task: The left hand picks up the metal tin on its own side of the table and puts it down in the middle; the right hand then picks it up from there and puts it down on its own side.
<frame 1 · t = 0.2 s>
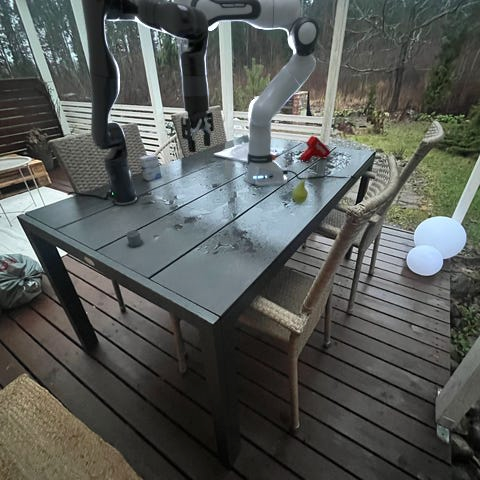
left hand: (200, 148, 90), 29 cm above the table, tool pointing down, fingers open, 8 cm apart
right hand: (190, 78, 120), 47 cm above the table, tool pointing down, fingers open, 8 cm apart
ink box: (152, 178, 149), on the table
tin: (135, 243, 94), on the table
relief map: (246, 155, 185), on the table
toy gun: (314, 160, 175), on the table
fruit: (299, 202, 122), on the table
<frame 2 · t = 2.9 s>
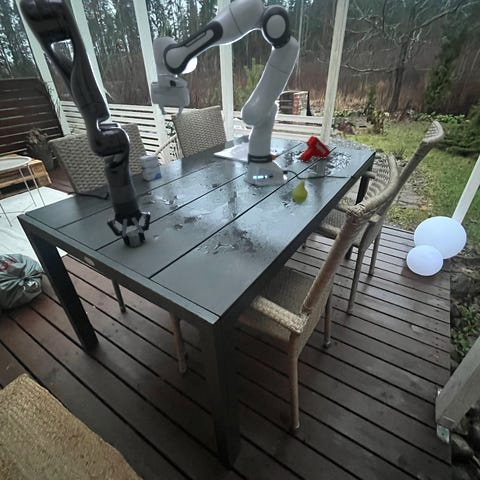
left hand: (135, 242, 94), 0 cm above the table, tool pointing down, fingers closed on tin, 4 cm apart
right hand: (171, 115, 128), 32 cm above the table, tool pointing down, fingers open, 8 cm apart
tin: (135, 243, 94), on the table, touching left hand
everything else where it was.
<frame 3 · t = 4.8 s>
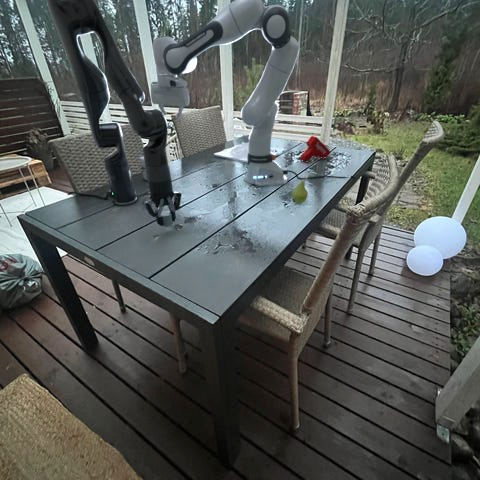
left hand: (167, 222, 98), 4 cm above the table, tool pointing down, fingers closed on tin, 4 cm apart
right hand: (171, 115, 128), 32 cm above the table, tool pointing down, fingers open, 8 cm apart
tin: (167, 224, 98), point 4 cm above the table, touching left hand
everything else where it was.
when the left hand's fingers open (1 cm above the table, at t = 6.8 s): tin stays where it is, on the table.
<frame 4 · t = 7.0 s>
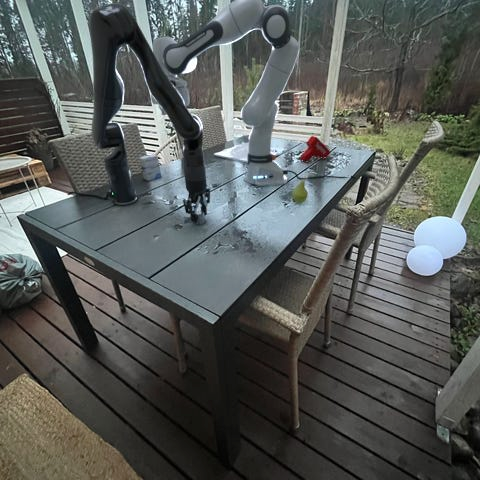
left hand: (199, 218, 106), 2 cm above the table, tool pointing down, fingers open, 6 cm apart
right hand: (171, 115, 128), 32 cm above the table, tool pointing down, fingers open, 8 cm apart
tin: (199, 222, 107), on the table
everything else where it was.
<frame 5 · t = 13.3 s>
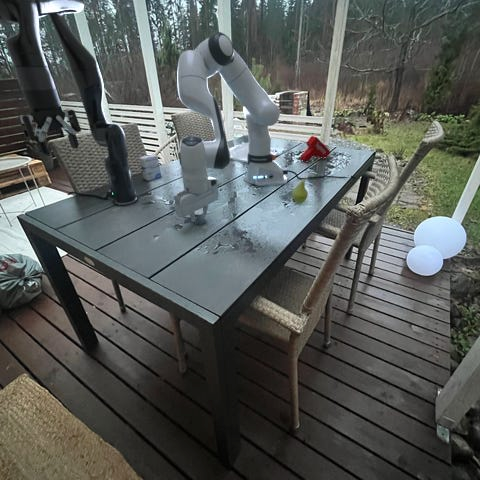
left hand: (61, 151, 78), 31 cm above the table, tool pointing down, fingers open, 8 cm apart
right hand: (199, 218, 106), 2 cm above the table, tool pointing down, fingers closed on tin, 4 cm apart
tin: (199, 222, 107), on the table, touching right hand
everything else where it was.
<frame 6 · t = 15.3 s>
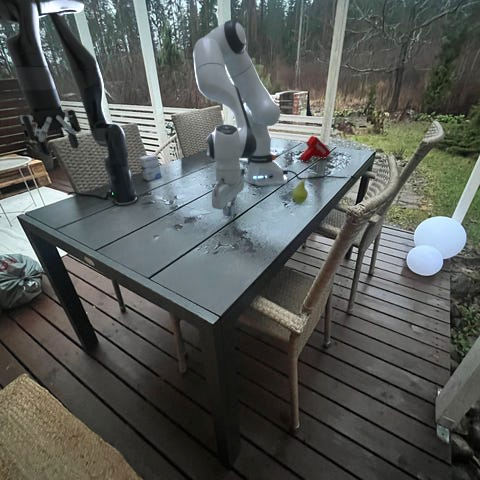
left hand: (61, 151, 78), 31 cm above the table, tool pointing down, fingers open, 8 cm apart
right hand: (229, 209, 104), 5 cm above the table, tool pointing down, fingers closed on tin, 4 cm apart
tin: (229, 213, 105), point 4 cm above the table, touching right hand
everything else where it was.
when the right hand's fingers open (3 cm above the table, at t = 17.7 s): tin stays where it is, on the table.
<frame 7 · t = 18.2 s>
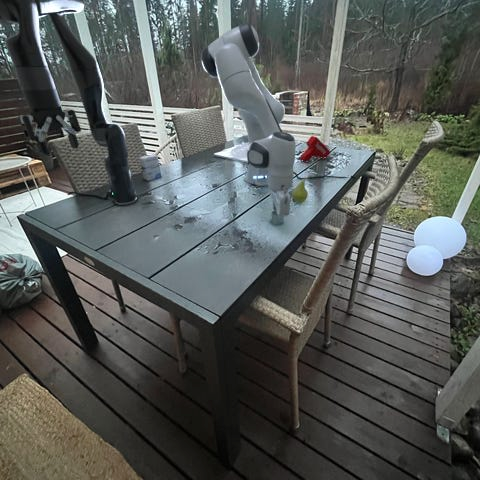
left hand: (61, 151, 78), 31 cm above the table, tool pointing down, fingers open, 8 cm apart
right hand: (277, 215, 105), 3 cm above the table, tool pointing down, fingers open, 8 cm apart
tin: (276, 222, 106), on the table
everything else where it was.
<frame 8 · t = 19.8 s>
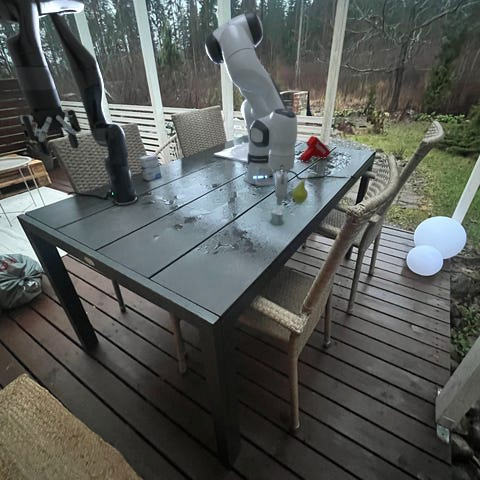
left hand: (61, 151, 78), 31 cm above the table, tool pointing down, fingers open, 8 cm apart
right hand: (278, 198, 101), 10 cm above the table, tool pointing down, fingers open, 8 cm apart
nothing on the table moved.
at the end: tin inside the target area (0.0 cm from its centre), on the table; tin tilted 0°; the two hands never held the tin at the same time; the left hand is holding nothing; the right hand is holding nothing; tin at rest at the end (0.0 cm/s) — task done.
